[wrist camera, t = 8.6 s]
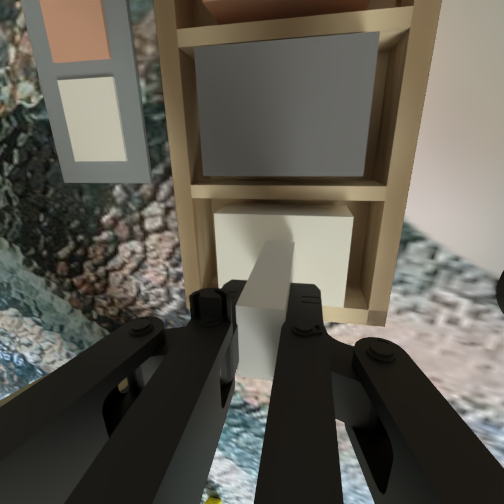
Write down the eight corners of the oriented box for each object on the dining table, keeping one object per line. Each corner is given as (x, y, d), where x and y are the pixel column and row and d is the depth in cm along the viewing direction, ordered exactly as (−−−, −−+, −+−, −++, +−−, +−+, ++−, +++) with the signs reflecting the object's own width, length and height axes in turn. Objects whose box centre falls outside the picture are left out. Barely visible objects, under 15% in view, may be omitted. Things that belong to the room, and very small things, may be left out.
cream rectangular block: (231, 276, 19) (219, 297, 16) (228, 203, 17) (213, 213, 15) (338, 283, 18) (343, 307, 15) (345, 205, 16) (353, 216, 13)
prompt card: (67, 182, 21) (62, 182, 21) (8, -65, 16) (0, -71, 16) (152, 182, 20) (149, 183, 19) (117, -85, 15) (111, -92, 15)
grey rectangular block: (221, 171, 16) (203, 176, 13) (216, 66, 14) (193, 46, 11) (352, 171, 14) (363, 176, 12) (364, 56, 13) (380, 31, 10)
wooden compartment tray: (207, 281, 22) (187, 308, 18) (159, -339, 12) (91, -559, 8) (370, 293, 20) (384, 326, 16) (480, -453, 10) (585, -820, 6)
